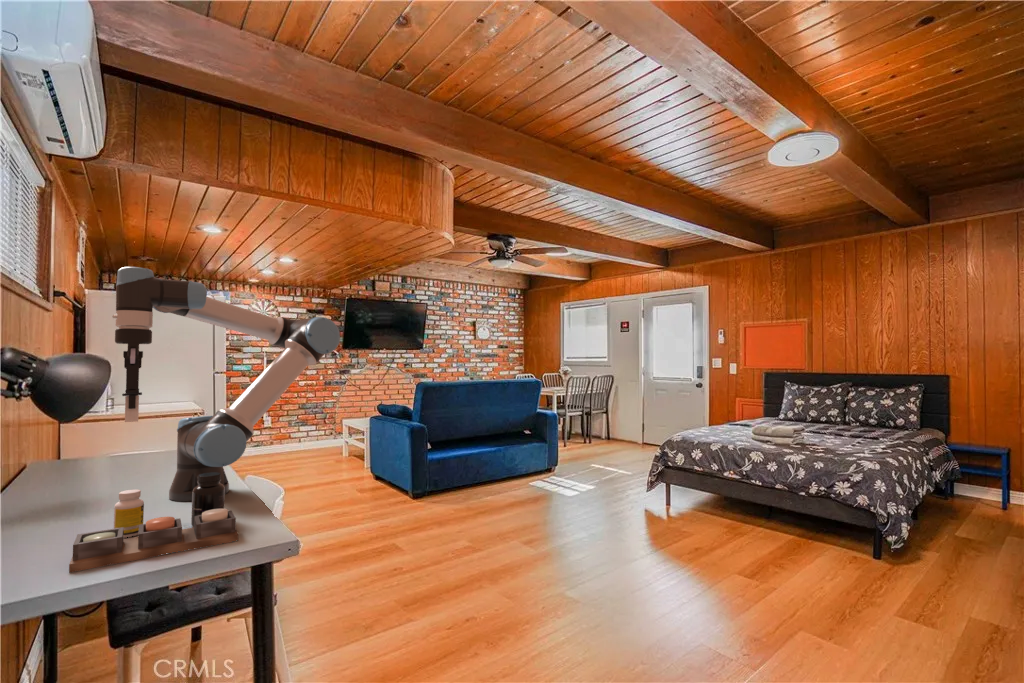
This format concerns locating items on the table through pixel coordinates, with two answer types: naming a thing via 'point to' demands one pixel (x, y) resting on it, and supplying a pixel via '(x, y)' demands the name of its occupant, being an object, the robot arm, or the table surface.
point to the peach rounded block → (214, 515)
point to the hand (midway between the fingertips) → (131, 421)
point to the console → (150, 542)
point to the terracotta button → (160, 523)
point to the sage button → (99, 536)
